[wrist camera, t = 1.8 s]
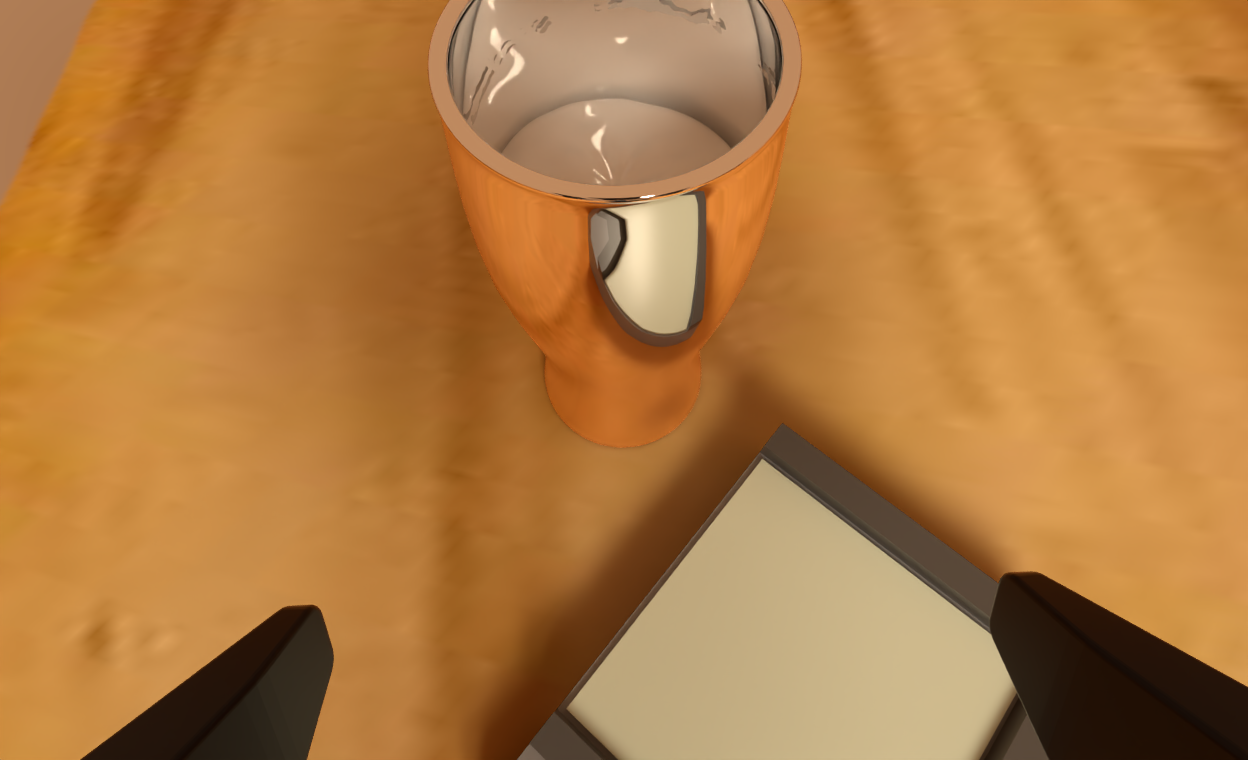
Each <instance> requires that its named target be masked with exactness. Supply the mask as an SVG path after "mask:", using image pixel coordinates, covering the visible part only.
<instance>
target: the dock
mask: <svg viewBox="0 0 1248 760" xmlns="http://www.w3.org/2000/svg"><path fill="white" fill-rule="evenodd" d="M997 588H998V583H997V582H996V581H994V580H993V579H992V578H990V577H989V576H988V575H986V574H985V573H984V572H982V571H981V570H980V569H978V568H977V567H976V566H974V565H973V564H972V563H970V562H969V561H967V560H966V559H965V558H963V557H962V556H961V555H959V554H958V553H957V552H955V551H954V550H953V549H951V548H950V547H949V546H947V545H946V544H945V543H943V542H942V541H941V540H939V539H938V538H937V537H935V536H934V535H933V534H931V533H930V532H929V531H927V530H926V529H924V528H923V527H922V526H920V525H919V524H918V523H916V522H915V521H914V520H912V519H911V518H910V517H908V516H907V515H906V514H904V513H903V512H902V511H900V510H899V509H898V508H896V507H895V506H894V505H892V504H891V503H890V502H888V501H887V500H885V499H884V498H883V497H881V496H880V495H879V494H877V493H876V492H875V491H873V490H872V489H871V488H869V487H868V486H867V485H865V484H864V483H863V482H861V481H860V480H859V479H857V478H856V477H855V476H853V475H852V474H851V473H849V472H848V471H847V470H845V469H844V468H842V467H841V466H840V465H838V464H837V463H836V462H834V461H833V460H832V459H830V458H829V457H828V456H826V455H825V454H824V453H822V452H821V451H820V450H818V449H817V448H816V447H814V446H813V445H812V444H810V443H809V442H808V441H806V440H805V439H804V438H802V437H801V436H799V435H798V434H797V433H795V432H794V431H793V430H791V429H790V428H789V427H787V426H786V425H785V424H783V423H782V424H781V425H780V427H779V428H778V429H777V431H776V432H775V433H774V434H773V436H772V437H771V438H770V439H769V441H768V442H767V443H766V444H765V446H764V447H763V449H762V450H761V451H760V453H759V454H758V455H757V456H756V458H755V459H754V460H753V462H752V463H751V464H750V465H749V467H748V468H747V469H746V470H745V472H744V473H743V474H742V475H741V477H740V478H739V479H738V481H737V482H736V483H735V484H734V486H733V487H732V488H731V489H730V491H729V492H728V493H727V494H726V496H725V497H724V498H723V500H722V501H721V502H720V503H719V505H718V506H717V507H716V508H715V510H714V511H713V512H712V513H711V515H710V516H709V517H708V519H707V520H706V521H705V522H704V524H703V525H702V526H701V527H700V529H699V530H698V531H697V532H696V534H695V535H694V536H693V538H692V539H691V540H690V541H689V543H688V544H687V545H686V546H685V548H684V549H683V550H682V551H681V553H680V554H679V555H678V557H677V558H676V559H675V560H674V562H673V563H672V564H671V565H670V567H669V568H668V569H667V570H666V572H665V573H664V574H663V575H662V577H661V578H660V579H659V581H658V582H657V583H656V584H655V586H654V587H653V588H652V589H651V591H650V592H649V593H648V594H647V596H646V597H645V598H644V600H643V601H642V602H641V603H640V605H639V606H638V607H637V608H636V610H635V611H634V612H633V613H632V615H631V616H630V617H629V619H628V620H627V621H626V622H625V624H624V625H623V626H622V627H621V629H620V630H619V631H618V632H617V634H616V635H615V636H614V638H613V639H612V640H611V641H610V643H609V644H608V645H607V646H606V648H605V649H604V650H603V651H602V653H601V654H600V655H599V657H598V658H597V659H596V660H595V662H594V663H593V664H592V665H591V667H590V668H589V669H588V670H587V672H586V673H585V674H584V675H583V677H582V678H581V679H580V681H579V682H578V683H577V684H576V686H575V687H574V688H573V689H572V691H571V692H570V693H569V694H568V696H567V697H566V698H565V700H564V701H563V702H562V703H561V705H560V706H559V707H558V708H557V710H556V711H555V712H554V713H553V714H552V715H551V716H550V718H549V719H548V720H547V722H546V723H545V724H544V725H543V727H542V728H541V729H540V730H539V732H538V733H537V734H536V735H535V737H534V738H533V739H532V741H531V742H530V743H529V745H528V746H527V748H526V749H525V750H524V751H523V753H522V754H521V755H520V757H519V758H518V759H517V760H1049V759H1048V757H1047V755H1046V753H1045V751H1044V749H1043V747H1042V745H1041V743H1040V741H1039V739H1038V737H1037V735H1036V733H1035V731H1034V729H1033V726H1032V724H1031V722H1030V720H1029V718H1028V716H1027V713H1026V711H1025V709H1024V707H1023V705H1022V702H1021V700H1020V698H1019V696H1018V694H1017V691H1016V689H1015V687H1014V685H1013V683H1012V681H1011V678H1010V676H1009V674H1008V672H1007V670H1006V667H1005V665H1004V663H1003V661H1002V659H1001V656H1000V654H999V652H998V650H997V648H996V646H995V643H994V641H993V639H992V636H991V632H990V627H989V620H990V615H991V611H992V607H993V603H994V599H995V596H996V592H997Z"/></svg>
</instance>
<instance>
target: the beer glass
mask: <svg viewBox="0 0 1248 760" xmlns="http://www.w3.org/2000/svg"><path fill="white" fill-rule="evenodd" d="M801 70H802V54H801V45H800V40H799V36H798V32H797V29H796V26H795V23H794V21H793V19H792V16H791V14H790V12H789V10H788V9H787V7H786V5H785V3H784V2H783V0H450V1H449V2H448V3H447V5H446V7H445V8H444V10H443V12H442V14H441V16H440V17H439V20H438V22H437V24H436V27H435V29H434V32H433V35H432V39H431V43H430V48H429V54H428V77H429V85H430V90H431V94H432V97H433V101H434V103H435V106H436V108H437V111H438V113H439V115H440V118H441V122H442V126H443V129H444V133H445V137H446V141H447V146H448V150H449V154H450V158H451V162H452V167H453V170H454V174H455V178H456V182H457V185H458V189H459V193H460V197H461V200H462V204H463V207H464V210H465V213H466V216H467V219H468V222H469V225H470V228H471V231H472V234H473V237H474V240H475V243H476V245H477V248H478V250H479V253H480V255H481V257H482V259H483V261H484V264H485V266H486V268H487V270H488V272H489V275H490V277H491V279H492V281H493V283H494V285H495V287H496V289H497V291H498V292H499V294H500V296H501V297H502V299H503V300H504V302H505V303H506V305H507V306H508V308H509V309H510V311H511V312H512V314H513V315H514V317H515V318H516V320H517V321H518V323H519V324H520V325H521V326H522V328H523V329H524V330H525V331H526V333H527V334H528V335H529V336H530V337H531V339H532V340H533V341H534V342H535V344H536V345H537V346H538V347H539V348H540V349H541V351H542V352H543V353H544V354H545V355H546V359H545V373H544V374H545V384H546V389H547V393H548V396H549V399H550V402H551V404H552V406H553V408H554V409H555V411H556V413H557V414H558V416H559V417H560V418H561V419H562V421H563V422H564V423H565V424H566V425H567V426H568V427H569V428H570V429H572V430H573V431H574V432H576V433H577V434H578V435H580V436H582V437H583V438H585V439H587V440H589V441H592V442H594V443H597V444H601V445H605V446H610V447H622V448H624V447H636V446H641V445H645V444H648V443H651V442H654V441H656V440H658V439H660V438H662V437H664V436H666V435H667V434H669V433H670V432H672V431H673V430H674V429H675V428H676V427H678V426H679V425H680V424H681V423H682V422H683V421H684V419H685V418H686V417H687V416H688V414H689V413H690V411H691V410H692V408H693V406H694V404H695V402H696V399H697V397H698V393H699V390H700V384H701V373H702V372H701V360H700V354H699V351H700V350H701V349H702V347H703V346H704V345H705V343H706V342H707V341H708V340H709V338H710V337H711V335H712V334H713V333H714V331H715V330H716V329H717V327H718V326H719V325H720V323H721V322H722V320H723V319H724V317H725V316H726V314H727V313H728V311H729V309H730V308H731V306H732V304H733V302H734V301H735V299H736V297H737V296H738V294H739V292H740V291H741V289H742V287H743V285H744V283H745V281H746V279H747V277H748V274H749V272H750V269H751V267H752V264H753V262H754V259H755V257H756V254H757V251H758V249H759V246H760V244H761V241H762V238H763V235H764V231H765V228H766V224H767V221H768V217H769V213H770V210H771V206H772V203H773V199H774V195H775V191H776V186H777V181H778V176H779V172H780V167H781V162H782V157H783V152H784V147H785V141H786V136H787V131H788V125H789V120H790V115H791V110H792V106H793V104H794V101H795V99H796V96H797V92H798V89H799V84H800V79H801Z"/></svg>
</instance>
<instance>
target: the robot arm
mask: <svg viewBox="0 0 1248 760" xmlns="http://www.w3.org/2000/svg"><path fill="white" fill-rule="evenodd" d="M989 627H990V632H991V636H992V639H993V641H994V643H995V646H996V648H997V650H998V652H999V654H1000V656H1001V659H1002V661H1003V663H1004V665H1005V667H1006V670H1007V672H1008V674H1009V676H1010V678H1011V681H1012V683H1013V685H1014V687H1015V689H1016V691H1017V694H1018V696H1019V698H1020V700H1021V702H1022V705H1023V707H1024V709H1025V711H1026V713H1027V716H1028V718H1029V720H1030V722H1031V724H1032V726H1033V729H1034V731H1035V733H1036V735H1037V737H1038V739H1039V741H1040V743H1041V745H1042V747H1043V749H1044V751H1045V753H1046V755H1047V757H1048V759H1049V760H1248V687H1247V686H1245V685H1243V684H1241V683H1240V682H1238V681H1236V680H1234V679H1232V678H1231V677H1229V676H1227V675H1225V674H1223V673H1221V672H1220V671H1218V670H1216V669H1214V668H1212V667H1210V666H1209V665H1207V664H1205V663H1203V662H1201V661H1200V660H1198V659H1196V658H1194V657H1192V656H1190V655H1189V654H1187V653H1185V652H1183V651H1181V650H1180V649H1178V648H1176V647H1174V646H1172V645H1170V644H1169V643H1167V642H1165V641H1163V640H1161V639H1159V638H1158V637H1156V636H1154V635H1152V634H1150V633H1149V632H1147V631H1145V630H1143V629H1141V628H1139V627H1138V626H1136V625H1134V624H1132V623H1130V622H1129V621H1127V620H1125V619H1123V618H1121V617H1119V616H1118V615H1116V614H1114V613H1112V612H1110V611H1108V610H1107V609H1105V608H1103V607H1101V606H1099V605H1098V604H1096V603H1094V602H1092V601H1090V600H1088V599H1087V598H1085V597H1083V596H1081V595H1079V594H1077V593H1076V592H1074V591H1072V590H1070V589H1068V588H1067V587H1065V586H1063V585H1061V584H1059V583H1057V582H1056V581H1054V580H1052V579H1050V578H1048V577H1047V576H1045V575H1043V574H1041V573H1038V572H1032V571H1030V572H1010V573H1006V574H1004V575H1003V576H1002V577H1001V578H1000V581H999V584H998V588H997V592H996V596H995V599H994V603H993V607H992V611H991V615H990V620H989ZM333 661H334V655H333V648H332V645H331V641H330V638H329V635H328V631H327V628H326V625H325V622H324V618H323V615H322V612H321V610H320V609H319V608H318V607H317V606H314V605H298V606H287V607H284V608H282V609H280V610H279V611H277V612H276V613H275V614H273V615H272V616H271V617H269V618H268V619H267V620H265V621H264V622H263V623H261V624H260V625H259V626H257V627H256V628H255V629H253V630H252V631H251V632H249V633H248V634H247V635H245V636H244V637H243V638H241V639H240V640H239V641H237V642H236V643H235V644H233V645H232V646H231V647H229V648H228V649H227V650H225V651H224V652H223V653H221V654H220V655H219V656H217V657H216V658H215V659H213V660H212V661H211V662H209V663H208V664H207V665H205V666H204V667H203V668H201V669H200V670H199V671H197V672H196V673H195V674H194V675H192V676H191V677H190V678H188V679H187V680H186V681H184V682H183V683H182V684H180V685H179V686H178V687H176V688H175V689H174V690H172V691H171V692H170V693H168V694H167V695H166V696H164V697H163V698H162V699H160V700H159V701H158V702H156V703H155V704H154V705H152V706H151V707H150V708H148V709H147V710H146V711H144V712H143V713H142V714H140V715H139V716H138V717H136V718H135V719H134V720H132V721H131V722H130V723H128V724H127V725H126V726H124V727H123V728H122V729H120V730H119V731H118V732H116V733H115V734H114V735H112V736H111V737H110V738H109V739H107V740H106V741H105V742H103V743H102V744H101V745H99V746H98V747H97V748H95V749H94V750H93V751H91V752H90V753H89V754H87V755H86V756H85V757H83V758H82V759H81V760H307V756H308V753H309V749H310V746H311V742H312V739H313V735H314V732H315V728H316V725H317V721H318V718H319V714H320V711H321V707H322V704H323V700H324V697H325V693H326V690H327V686H328V683H329V679H330V676H331V672H332V668H333Z"/></svg>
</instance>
